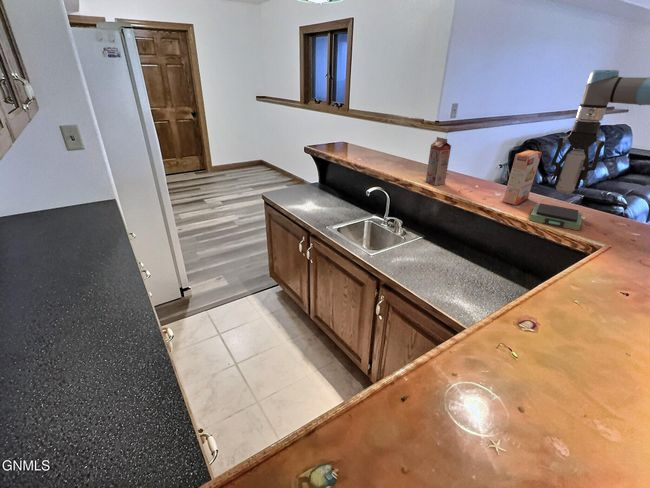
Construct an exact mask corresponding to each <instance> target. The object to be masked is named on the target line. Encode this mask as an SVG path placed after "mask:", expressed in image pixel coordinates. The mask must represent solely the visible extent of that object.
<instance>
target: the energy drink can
mask: <svg viewBox="0 0 650 488" xmlns="http://www.w3.org/2000/svg"><path fill="white" fill-rule="evenodd" d="M585 157H586V156H585V153H584V149H580V148H573V150H572V151H571V152H570V153H568V154H567V157H566V159H565V161H564V162H563V163H562V165H561V167H562V170H561V173H560V176H559V179H558V182H557V185H556V186H555V188H556V191H557V192H559V193H563V194H572V193H573V192H575V191H576V189H575V188H576V185H577V182H578V179H579V177H580V174H581V171H582V170H583V168H584V160H585Z"/></svg>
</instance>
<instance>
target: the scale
mask: <svg viewBox="0 0 650 488" xmlns="http://www.w3.org/2000/svg"><path fill="white" fill-rule="evenodd" d="M539 205H540V204H534V207H533V209H532V211H531V213H530V216H529V221H530V222H535V223H541V224H546V225H549V226H555V227H560V228H565V229H569V230H575V231H580V230H581V227H582V221H583V213H582V212H579V211H578V219H577V222H576V221H571V220H565V219H560V218H555V217H550V216H545V215H540V214H536V212H537V210H538V207H539Z"/></svg>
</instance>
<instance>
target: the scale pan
mask: <svg viewBox="0 0 650 488" xmlns="http://www.w3.org/2000/svg"><path fill="white" fill-rule="evenodd" d="M538 205H539V207H538V210H537V212H536V214H540V215H545V216H550V217H555V218H560V219H565V220H571V221H576V222H577V219H578V212H579V209H575V208H569V207H563V206H557V205H552V204H546V203H541V202H540V203H539V204H538Z"/></svg>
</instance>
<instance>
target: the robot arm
mask: <svg viewBox="0 0 650 488" xmlns="http://www.w3.org/2000/svg"><path fill="white" fill-rule="evenodd" d="M619 74H620V71H619V70H618V69H594V70H592V71H591V72H590V73H589V76H588V79H587V82H586V84H585V87H584V90H583V94H582V96H581V97H582V98H581V101H580V103H579V106H578V108H577V112H576V116H575V119H576V120H574V122H573V125H572V128H571V131H570V133H569V135H567V136H559V138H558V145H557V147H556V150H555V152H554V155H553V158H552V160H551V163H550V165H551V166H554V167H555V168H554V172H553V176H554V177H556V178H555V181H554V184H553V186H555V187H556V185H557V182H558V179H559V176H560V173H561V170H562V166H563V163H564V161H565V159H566V157H567V154H568V153H570V152H571V151H572V150H573V149H580V150H584V153H585V156H586V157H585V160H584V165H583V168H584V169H582V171H581V174H580V177H579V179H578V182H577V185H576V188H575V190H579V188H580V184H581V182H582V181H585V180H586V178H587V176H588V173H589V172H590V171H591V172H592V171H596V169H597V166H598V162H599V159H600V155H601V151H602V148H604V146H605V144H606V141H605V140H601V139H599V138H598V133H599V130H600V128H601V125H602V122H601V121H603V119H604V116H605V114H606V111H607V108H608V105H609V103H611V104H624V105H637V106H650V76H649V77H642V76H641V77H640V76H639V77H635V76H634V77H633V76H632V77H629V76H627V77H626V76H625V77H624V76H619ZM567 140H568V142H569V146H568V148H567V149H566V150H565V153H564V154H563V155H562V156H561V158H560V159H559V161H557V160H558V158H559V155H560V153H561V150H562V147H563V145H564V144H565V143H566V142H567ZM593 144H595V146H596V149H595V153H594V156H593V160H592V164H591V166H590V161H589V160H590V159H589V157H590V156H589V148H590V147H591V146H592V145H593Z"/></svg>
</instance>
